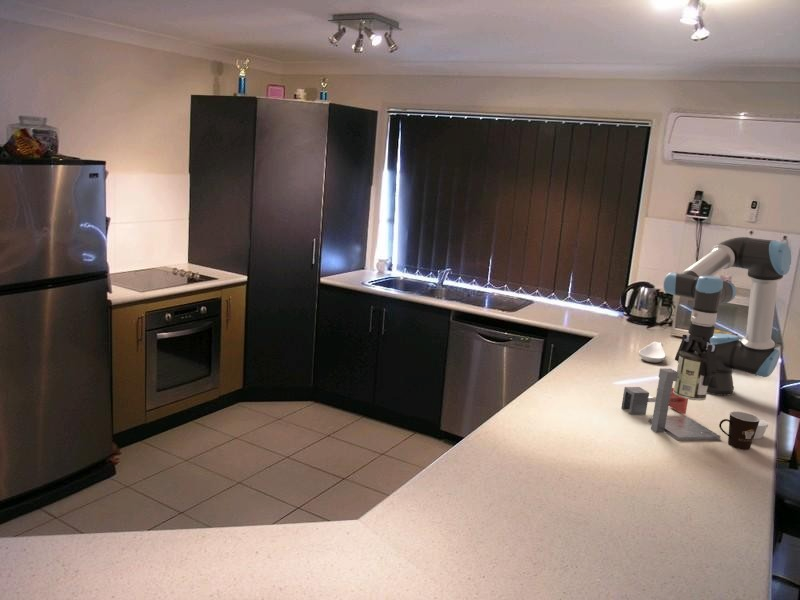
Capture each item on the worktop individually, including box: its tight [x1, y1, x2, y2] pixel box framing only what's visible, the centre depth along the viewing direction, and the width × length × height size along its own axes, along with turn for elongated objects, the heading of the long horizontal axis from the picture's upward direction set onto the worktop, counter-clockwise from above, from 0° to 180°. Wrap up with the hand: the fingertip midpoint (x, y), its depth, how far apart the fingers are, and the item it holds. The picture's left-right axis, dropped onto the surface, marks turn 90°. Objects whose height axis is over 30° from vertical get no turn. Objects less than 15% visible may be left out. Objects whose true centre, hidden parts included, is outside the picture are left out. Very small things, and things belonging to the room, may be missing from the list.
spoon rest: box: [638, 341, 667, 364], centre depth 312 cm, size 24×12×7 cm, turn 151°
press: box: [620, 367, 721, 442], centre depth 226 cm, size 20×28×21 cm
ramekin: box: [753, 417, 769, 440], centre depth 224 cm, size 11×11×5 cm
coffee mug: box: [718, 410, 761, 451], centre depth 213 cm, size 12×9×10 cm
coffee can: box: [673, 350, 708, 401], centre depth 219 cm, size 10×10×14 cm
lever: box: [648, 387, 689, 415], centre depth 238 cm, size 19×8×7 cm, turn 104°
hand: (690, 388), depth 220 cm, fingers closed on coffee can, 10 cm apart
